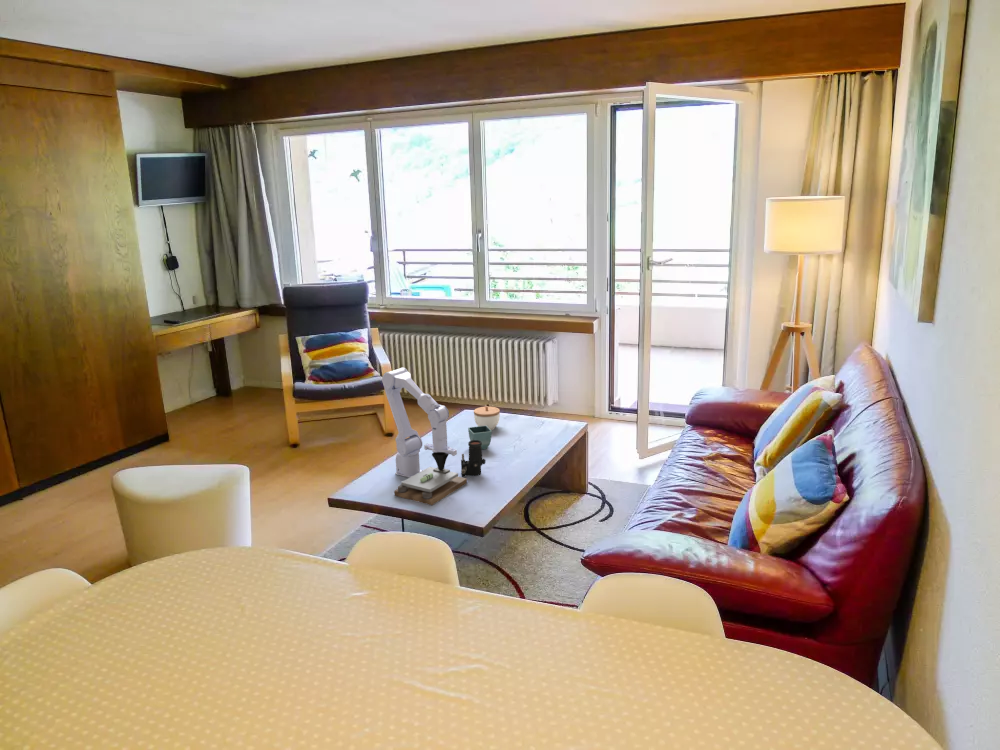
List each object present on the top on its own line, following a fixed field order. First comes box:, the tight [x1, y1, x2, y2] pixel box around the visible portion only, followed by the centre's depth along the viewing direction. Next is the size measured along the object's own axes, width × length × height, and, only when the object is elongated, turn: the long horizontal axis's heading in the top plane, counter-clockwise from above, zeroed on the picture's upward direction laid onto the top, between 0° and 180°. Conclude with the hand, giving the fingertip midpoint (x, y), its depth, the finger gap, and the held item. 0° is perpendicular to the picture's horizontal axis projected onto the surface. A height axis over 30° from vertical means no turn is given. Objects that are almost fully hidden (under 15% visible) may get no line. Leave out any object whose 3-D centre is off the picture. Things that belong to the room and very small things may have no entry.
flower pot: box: [467, 425, 493, 450], centre depth 318 cm, size 9×9×9 cm
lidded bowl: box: [473, 405, 501, 431], centre depth 343 cm, size 13×13×11 cm
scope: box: [460, 440, 486, 478], centre depth 289 cm, size 8×14×10 cm
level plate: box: [400, 466, 459, 492], centre depth 275 cm, size 14×18×3 cm
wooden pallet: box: [393, 476, 468, 506], centre depth 277 cm, size 18×23×4 cm
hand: (441, 469), depth 281 cm, fingers closed
